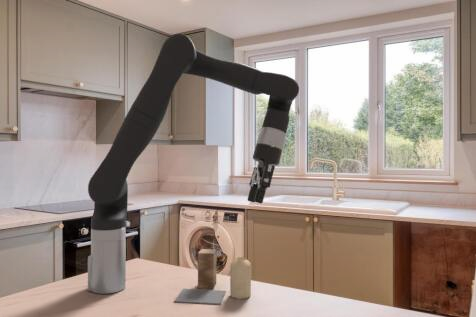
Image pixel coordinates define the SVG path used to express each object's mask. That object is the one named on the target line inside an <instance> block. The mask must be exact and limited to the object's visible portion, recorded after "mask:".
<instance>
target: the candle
mask: <svg viewBox="0 0 476 317" xmlns="http://www.w3.org/2000/svg"><path fill="white" fill-rule="evenodd" d="M251 264H252V263H251V262H250V261H249V260H248V259H247V258H246V257H245V256H241V257H240V256H239V257H237V258H236V257H235V258H233V260H232V261H231V262H230V270H229V271H230V272H229V273H230V276H229V277H230V280H229V281H230V287H229V288H230V289H229V291H230V292H229V293H230V294H229V295H230V297H231V298H234V299H239V300H243V299H248V298H250V297H251V292H252V284H251V283H252V278H251V277H252V272H251V271H252V265H251Z"/></svg>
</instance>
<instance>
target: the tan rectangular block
mask: <svg viewBox="0 0 476 317" xmlns="http://www.w3.org/2000/svg"><path fill="white" fill-rule="evenodd" d="M216 285H217V249H213V248H211V249H210V248H208V249H207V248H201V249H200V250H199V251H198V252H197V289H202V290H215V287H216Z"/></svg>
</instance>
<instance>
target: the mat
mask: <svg viewBox="0 0 476 317" xmlns="http://www.w3.org/2000/svg"><path fill="white" fill-rule="evenodd" d="M226 292H227V291H226V290H220V289H219V290H218V289H217V290H216V289H202V288H197V289H196V288H182V290H181V291H180V292H179V293H178V295H177V297H175V299H174V301H173V303H181V304H182V303H185V304H201V305H202V304H203V305H219V306H220V305H221V304H222V301H223V299H224V296H225V294H226Z"/></svg>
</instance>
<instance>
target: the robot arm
mask: <svg viewBox="0 0 476 317" xmlns="http://www.w3.org/2000/svg"><path fill="white" fill-rule="evenodd" d="M183 74H185V75H191V76H197V77H201V78H205V79H209V80H213V81H216V82H219V83H222V84H224V85H226V86H227V85H228V86H230V87H233V88H235V89H238V90H241V91H243V92H247V93H249V94H251V95H263V94H264V95H267V96H269V98H268V102H267V108H266V109H267V110H266V112H265V116H264V117H263V118H264V119H263V122H262V126H261V129H260V132H259V134H258V135H257V136H258V137H257V140H256V144H255V148H254V151H253V154H252V159H253V160H254V161H256V162H258V164H257V166H254V167H253V171H252V174H251V177H250V179H249V180H250V181H249V183H248V185H249V187H250V188H249V192H248V197H247V202H251V203H258V204H263V203H264V199H265V194H266V191H267V190H268V189H269V188H270V187H271V185H272V184H271V183H272V180H273V175H274V171H275V168H276V166H279V164H280V161H281V157H282V153H283V151H284V150H283V149H284V146H285V141H286V134H287V130H288V128H289V124H290V115H289V114H290V112H291V106H292V104H293V101H294V100H295V99H296V98H297V96H298V94H299V93H300V87H299V84H298V82H297V81H296V80H295V79H294V78H293V77H291V76H288V75H286V74H284V73H283V74H282V73H275V72H272V71H271V72H270V71H264V70H262V69H258V68H255V67H253V66H250V65H247V64H244V63H241V62H236V61H230V60H224V59H219V58H216V57H212V56H210V55H207V54H206V53H203V52H201V51H199V50H198V49H196V47H195V44H194V42H193V41H192V40H191V38H190V37H189V36H188V35H186V34H182V33H175V34H173V35H170V36H169V37H168V38H166V40H165V41H164V42H163V44H162V46H161V48H160V51H159V53H158V56H157V59H156V61H155V63H154V66H153V69H152V71H151V72H150V74H149V76H148V78H147V80H146V81H145V83H144V85H143V86H142V88H141V90H140V91H139V93H138V94H137V96H136V97H135V99H134V101H133V102H132V105H131V106H130V109H129V110H128V112H127V114H126V115H125V117H124V119H123V122H122V123H121V126H120V128H119V130H118V132H117V133H116V136H115V138H114V140H113V143H112V144H111V147H110V149H109V151H108V152H107V154H106V156H105V157H104V159H103V160H102V162H100V164H99V166H98V167H97V168H96V169H95V171H94V173H93V174H92V176H91V177H90V180H88V184H87V192H88V196H89V198H90V199H91V200H92V201H93V203H94V204H93V205H94V206H93V207H94V209H93V214H92V217H91V219H90V255H88V257H87V291H88V292H93V293H94V294H101V295H104V294H105V295H107V294H114V293H117V292H118V293H119V292H121V291H123V290H125V289H126V281H127V280H126V276H127V275H126V273H127V269H126V265H127V264H126V261H127V259H126V258H127V257H126V255H127V254H126V252H127V251H126V248H127V247H126V244H127V243H126V237H127V236H126V230H127V228H126V226H127V225H126V221H127V216H128V201H129V200H128V192H129V191H128V189H129V188H128V182H127V178H128V176H129V173H131V172H130V171H131V169H132V168H133V165H135V162H136V161H137V159H138V158H139V157H140V156H141V154H142V153H143V152H144V151H145V150H146V149H147V146H148V145H149V144H150V143H151V141H152V140H153V138H154V137H155V135H156V134H157V132H158V131H159V128H160V126H161V124H162V122H163V120H164V119H165V116H166V114H167V110H168V107H169V104H170V101H171V98H172V94H173V91H174V89H175V87H176V86H177V83H178V82H179V80H180V78H181V77H182V75H183ZM148 147H149V146H148Z"/></svg>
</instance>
